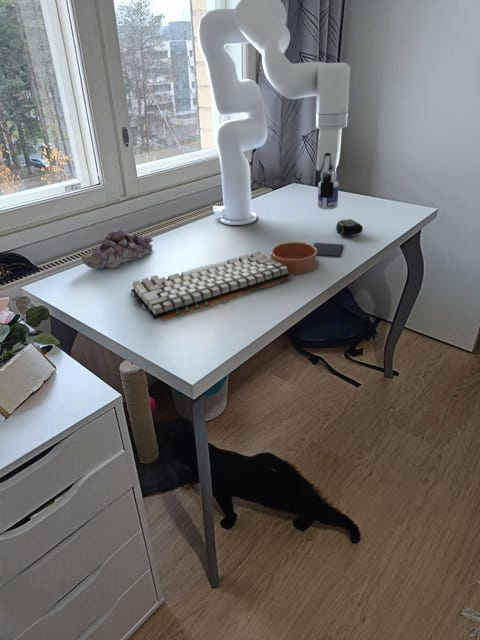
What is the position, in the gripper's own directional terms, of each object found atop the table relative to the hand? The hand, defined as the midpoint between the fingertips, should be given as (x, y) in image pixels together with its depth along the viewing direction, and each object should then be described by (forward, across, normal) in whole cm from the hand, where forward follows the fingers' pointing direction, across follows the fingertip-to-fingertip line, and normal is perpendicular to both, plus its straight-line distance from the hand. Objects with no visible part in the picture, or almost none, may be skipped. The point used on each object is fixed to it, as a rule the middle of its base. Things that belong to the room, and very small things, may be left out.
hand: (328, 193), depth 120 cm
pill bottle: (+4, 0, 0) cm, 4 cm away
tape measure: (+17, -14, +5) cm, 23 cm away
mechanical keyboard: (+17, +27, -25) cm, 40 cm away
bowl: (+16, +10, -7) cm, 21 cm away
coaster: (+16, 0, 0) cm, 16 cm away
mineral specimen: (+17, +17, -57) cm, 61 cm away
